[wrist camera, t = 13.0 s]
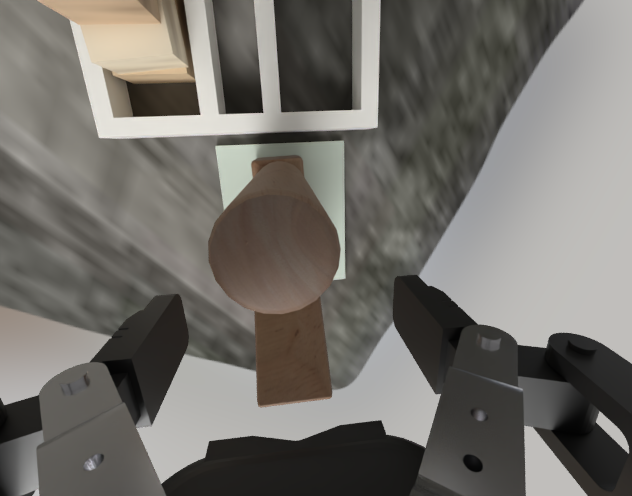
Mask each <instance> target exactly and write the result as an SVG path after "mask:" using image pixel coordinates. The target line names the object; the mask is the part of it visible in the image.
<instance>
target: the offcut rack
mask: <svg viewBox="0 0 632 496" xmlns="http://www.w3.org/2000/svg"><path fill="white" fill-rule="evenodd" d="M380 2H381V0H352V110H339V111H309V112H281V102H280V88H279V73H278V58H277V44H276V29H275V15H274V0H254V8H255V19H256V31H257V42H258V54H259V66H260V77H261V89H262V101H263V112H264V113H247V114H226V109H225V101H224V93H223V84H222V76H221V68H220V60H219V52H218V43H217V35H216V27H215V19H214V11H213V2H212V0H184V5H185V12H186V18H187V25H188V32H189V39H190V46H191V53H192V59H193V66H194V73H195V80H196V87H197V93H198V100H199V107H200V114H201V115H186V116H155V117H133V112H132V108H131V103H130V98H129V93H128V89H127V84H126V80H123V79H121V78H118V77H116V76H113V73H112V71H111V70H108V69H106V68H103V67H101V66H99V65H96V64H94V63H92V62H91V60H90V56H89V53H88V50H87V46H86V43H85V40H84V37H83V33H82V30H81V27H80V25H78V24H77V23H75V22H73V21H71V20H70V23H71V27H72V31H73V35H74V39H75V43H76V47H77V51H78V55H79V59H80V63H81V67H82V71H83V75H84V79H85V83H86V87H87V91H88V95H89V99H90V103H91V107H92V111H93V115H94V119H95V123H96V127H97V131H98V135H99V138H117V139H126V138H152V137H178V136H205V135H231V134H258V133H284V132H310V131H337V130H363V129H372V128H377V127H378V86H379V44H380Z"/></svg>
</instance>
